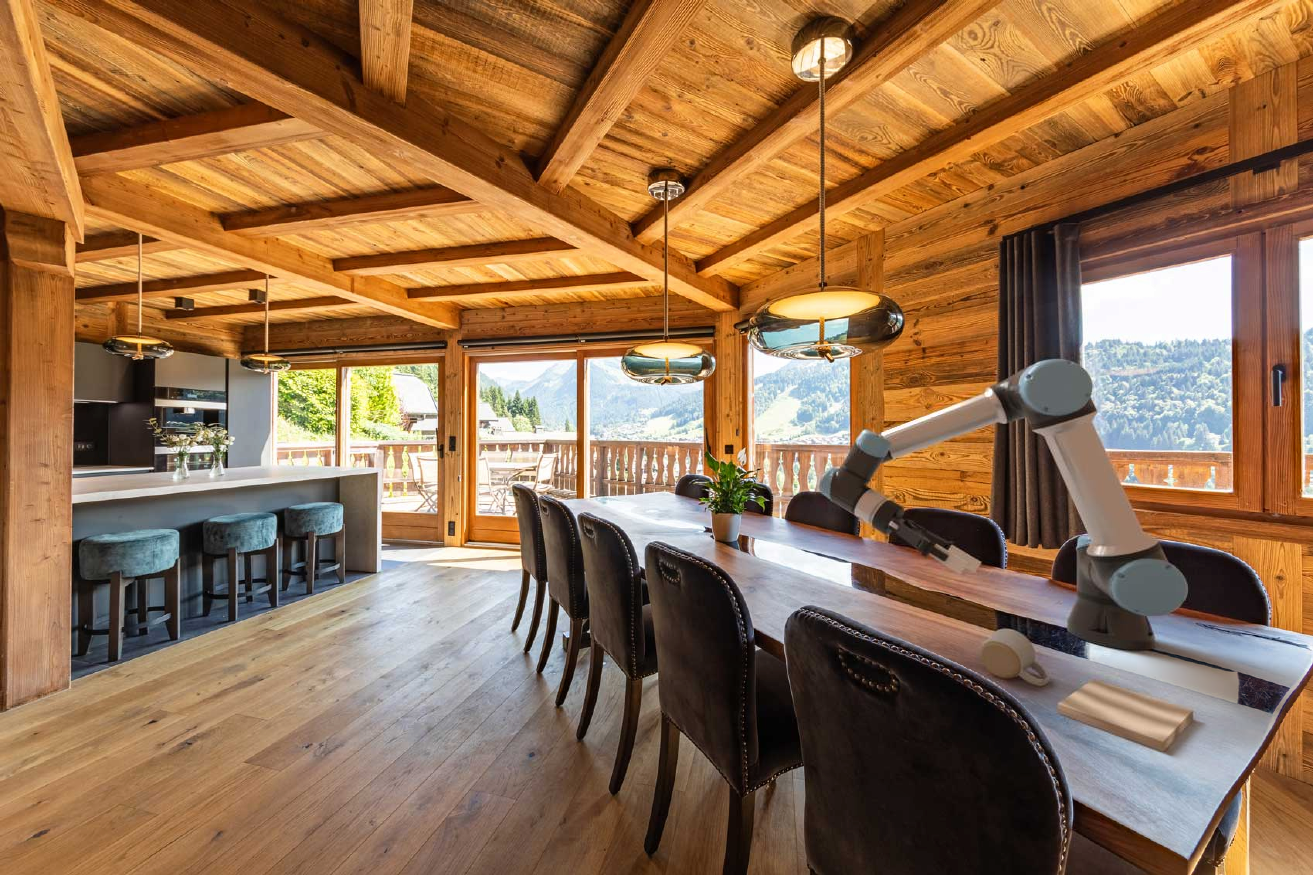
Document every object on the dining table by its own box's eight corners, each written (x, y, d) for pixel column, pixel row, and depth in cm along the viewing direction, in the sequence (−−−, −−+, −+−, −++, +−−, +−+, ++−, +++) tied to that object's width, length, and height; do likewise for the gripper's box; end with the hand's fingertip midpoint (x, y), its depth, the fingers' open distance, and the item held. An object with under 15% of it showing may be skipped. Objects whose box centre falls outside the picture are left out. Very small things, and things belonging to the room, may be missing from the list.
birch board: (1093, 687, 97) (1093, 678, 97) (1193, 719, 86) (1193, 710, 86) (1057, 712, 88) (1057, 703, 88) (1162, 752, 77) (1163, 741, 77)
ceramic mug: (976, 672, 103) (977, 633, 102) (990, 660, 108) (991, 623, 108) (1042, 694, 95) (1043, 651, 94) (1054, 679, 100) (1055, 639, 100)
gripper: (889, 527, 133) (973, 580, 119) (851, 523, 114) (946, 585, 101) (904, 502, 131) (992, 553, 118) (869, 494, 113) (968, 553, 99)
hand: (971, 568), depth 109 cm, fingers open, 13 cm apart
